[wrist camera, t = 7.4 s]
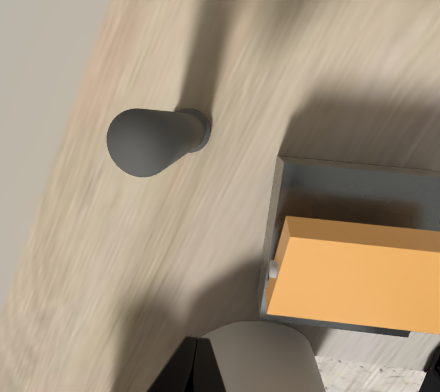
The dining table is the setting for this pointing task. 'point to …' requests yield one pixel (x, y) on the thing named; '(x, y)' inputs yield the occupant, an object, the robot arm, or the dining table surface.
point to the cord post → (155, 139)
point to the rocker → (356, 274)
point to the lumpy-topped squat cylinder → (265, 358)
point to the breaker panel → (346, 210)
